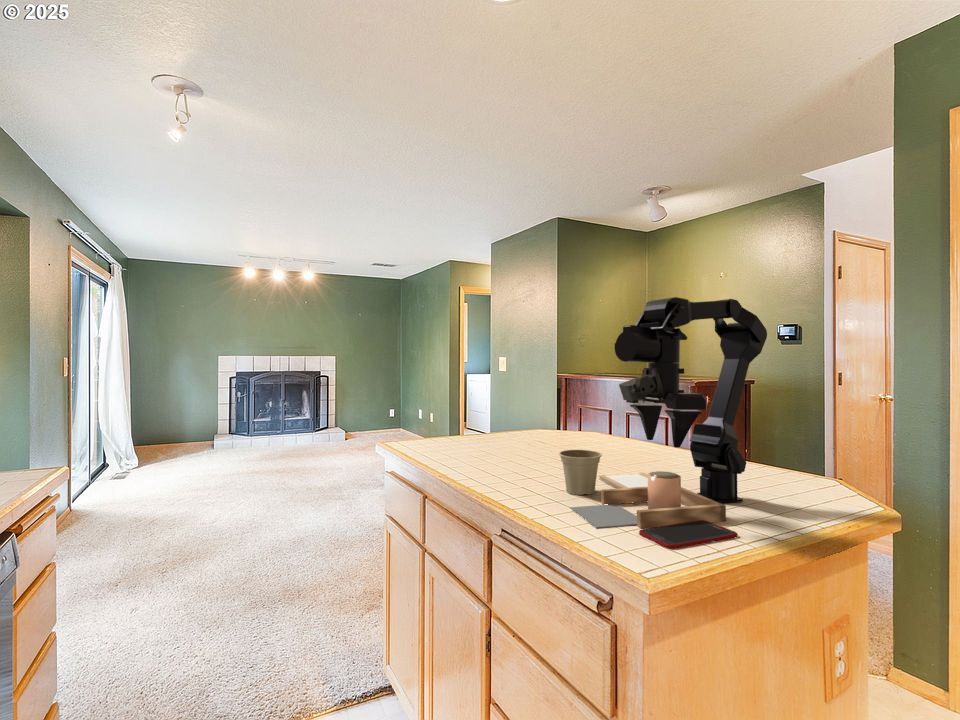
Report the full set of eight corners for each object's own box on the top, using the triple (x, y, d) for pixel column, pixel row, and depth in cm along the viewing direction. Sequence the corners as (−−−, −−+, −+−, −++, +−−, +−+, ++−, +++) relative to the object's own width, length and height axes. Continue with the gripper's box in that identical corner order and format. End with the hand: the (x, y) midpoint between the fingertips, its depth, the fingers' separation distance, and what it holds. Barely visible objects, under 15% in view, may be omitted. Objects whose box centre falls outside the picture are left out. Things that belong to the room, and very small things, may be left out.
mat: (616, 504, 99) (616, 503, 99) (648, 524, 88) (648, 522, 88) (569, 508, 97) (569, 507, 97) (596, 528, 86) (596, 527, 86)
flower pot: (603, 498, 104) (602, 458, 104) (558, 496, 106) (558, 456, 106) (601, 487, 113) (601, 450, 113) (560, 485, 115) (559, 449, 115)
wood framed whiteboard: (599, 479, 121) (599, 475, 121) (643, 476, 123) (643, 472, 123) (634, 498, 104) (634, 493, 104) (685, 494, 106) (685, 490, 106)
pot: (669, 506, 98) (668, 470, 98) (687, 515, 93) (687, 477, 93) (642, 508, 97) (641, 471, 97) (659, 517, 91) (658, 478, 91)
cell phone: (636, 535, 83) (636, 530, 83) (703, 524, 88) (703, 519, 88) (669, 552, 76) (669, 545, 76) (740, 539, 81) (740, 533, 81)
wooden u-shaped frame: (675, 497, 104) (675, 484, 104) (725, 521, 89) (725, 505, 89) (601, 503, 100) (601, 489, 100) (640, 528, 85) (640, 512, 85)
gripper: (603, 362, 103) (602, 437, 102) (652, 361, 84) (651, 452, 84) (652, 363, 105) (651, 436, 105) (709, 363, 87) (708, 451, 86)
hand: (662, 443), depth 95 cm, fingers open, 9 cm apart
